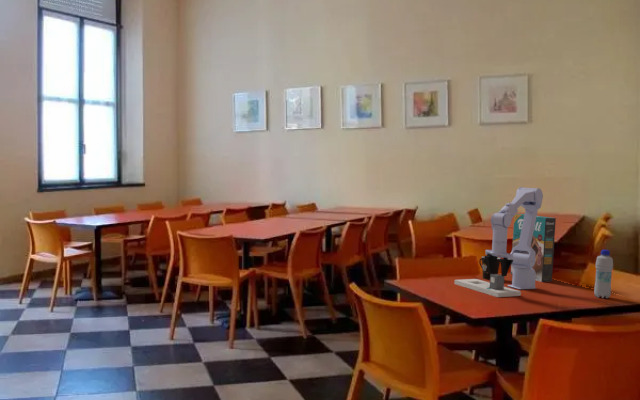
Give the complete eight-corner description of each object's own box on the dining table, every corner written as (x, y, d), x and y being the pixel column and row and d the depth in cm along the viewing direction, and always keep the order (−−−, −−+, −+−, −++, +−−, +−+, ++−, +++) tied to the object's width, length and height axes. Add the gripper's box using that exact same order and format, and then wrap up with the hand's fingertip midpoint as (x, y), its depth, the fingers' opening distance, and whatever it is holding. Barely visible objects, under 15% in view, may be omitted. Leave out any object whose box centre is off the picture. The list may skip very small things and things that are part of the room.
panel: (476, 282, 278) (476, 278, 277) (520, 295, 252) (520, 290, 252) (454, 283, 272) (454, 279, 272) (497, 297, 247) (497, 292, 247)
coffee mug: (501, 280, 286) (502, 259, 286) (483, 279, 286) (484, 258, 286) (494, 276, 298) (496, 255, 297) (476, 275, 298) (478, 254, 297)
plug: (496, 291, 259) (497, 273, 259) (503, 293, 255) (504, 275, 255) (488, 292, 257) (489, 274, 257) (494, 294, 254) (496, 276, 253)
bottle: (609, 296, 259) (613, 249, 258) (611, 299, 252) (615, 251, 251) (592, 294, 261) (595, 248, 260) (594, 297, 255) (597, 249, 253)
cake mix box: (510, 273, 308) (514, 213, 306) (520, 273, 310) (524, 214, 309) (541, 281, 288) (545, 218, 286) (551, 281, 290) (555, 218, 288)
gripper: (480, 239, 260) (478, 271, 261) (504, 244, 247) (502, 277, 248) (493, 239, 263) (491, 271, 264) (517, 244, 250) (515, 277, 251)
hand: (497, 274), depth 256 cm, fingers open, 7 cm apart
